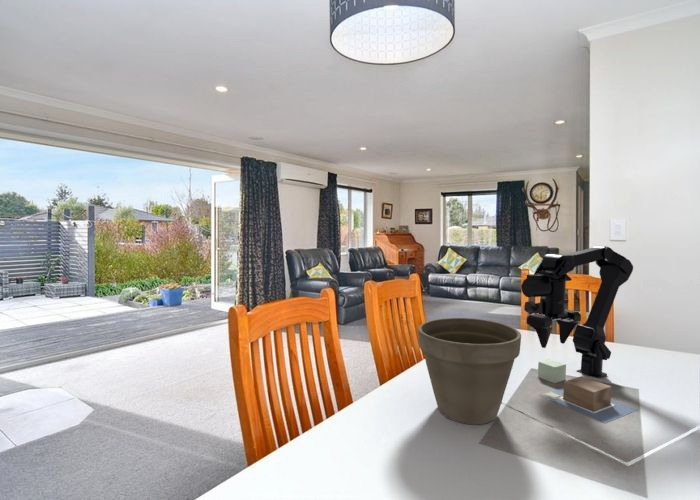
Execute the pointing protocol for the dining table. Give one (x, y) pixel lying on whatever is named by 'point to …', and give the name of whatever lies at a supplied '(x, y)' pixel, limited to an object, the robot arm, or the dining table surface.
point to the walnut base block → (587, 393)
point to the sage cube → (552, 370)
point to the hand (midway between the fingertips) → (553, 345)
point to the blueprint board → (601, 414)
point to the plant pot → (469, 365)
